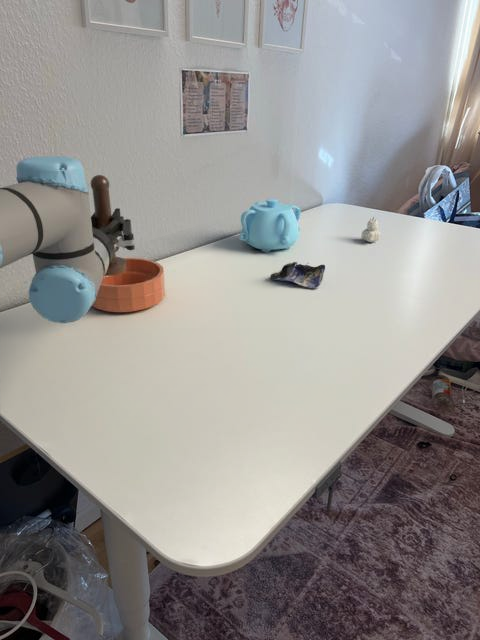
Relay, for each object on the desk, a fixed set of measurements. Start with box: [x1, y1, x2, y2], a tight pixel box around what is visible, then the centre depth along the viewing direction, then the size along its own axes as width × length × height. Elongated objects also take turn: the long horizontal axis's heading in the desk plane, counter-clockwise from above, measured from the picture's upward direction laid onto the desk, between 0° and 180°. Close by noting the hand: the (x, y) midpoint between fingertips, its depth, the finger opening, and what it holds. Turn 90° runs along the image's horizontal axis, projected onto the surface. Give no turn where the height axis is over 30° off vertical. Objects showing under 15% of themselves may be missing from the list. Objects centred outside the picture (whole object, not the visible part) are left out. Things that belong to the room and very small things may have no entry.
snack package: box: [270, 261, 326, 290], centre depth 116 cm, size 12×6×12 cm
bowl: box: [91, 257, 166, 313], centre depth 104 cm, size 17×17×6 cm
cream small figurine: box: [361, 215, 381, 243], centre depth 143 cm, size 5×7×8 cm
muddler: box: [90, 174, 127, 276], centre depth 87 cm, size 6×6×18 cm
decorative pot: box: [238, 198, 301, 253], centre depth 137 cm, size 16×16×14 cm
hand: (109, 215), depth 92 cm, fingers closed on muddler, 3 cm apart
